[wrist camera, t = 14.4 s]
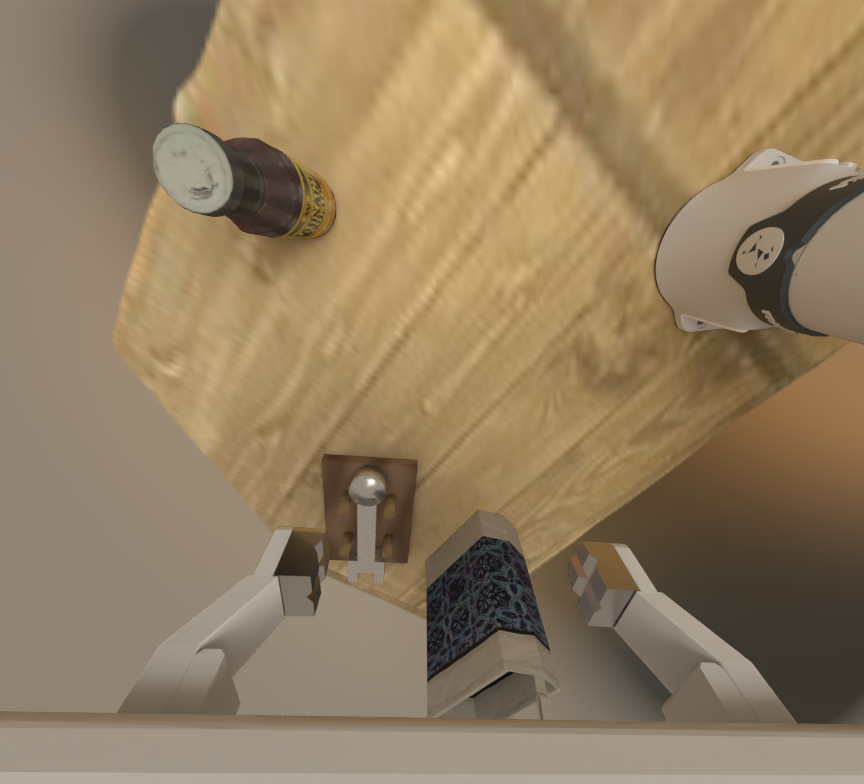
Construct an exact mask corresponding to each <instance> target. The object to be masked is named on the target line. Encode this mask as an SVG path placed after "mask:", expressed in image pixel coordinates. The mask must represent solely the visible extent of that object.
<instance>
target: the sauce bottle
mask: <svg viewBox="0 0 864 784" xmlns="http://www.w3.org/2000/svg"><path fill="white" fill-rule="evenodd" d="M153 167H154V171H155V174H156V176H157V178H158V181H159V182H160V184H161V186H162V187H163V188H164V190H165V191H166V192H167V194H168V195H169V196H170V197H171V198H172V199H173V200H174V201H175V202H176V203H177V204H179V205H180V206H182V207H183V208H184V209H187V210H189V211H191V212H193V213H199V214H202V215H207V216H212V217H219V216H224V215H225V216H227V217H228V218H229V219H231V220H232V222H233V223H234V224H236V225H237V226H238V228H239V229H240V230H241V231H243V232H246V233H250V234H257V235H263V236H267V237H272V238H315V237H319V236H321V235H323V234H324V233H326V232H327V231H328V230H329V228H330V227H331V226H332V225H333V223H334V220H335V218H336V204H335V199H334V194H333V192H332V191H331V189H330V188H329V186H328V184H327V183H326V182H325V180H324V179H323V178H322V177H320V176H319V175H318V174H316V173H315V172H313V171H312V170H310V169H309V168H307V167H306V166H304V165H303V164H301V163H300V162H298V161H297V160H295V159H293V158H292V157H290V156H288V155H287V154H285V153H283V152H282V151H280V150H278V149H276V148H273V147H271V146H270V145H268V144H266V143H264V142H263V141H261V140H259V139H256V138H233V139H230V140H227V141H223V140H221V139H220V138H219V137H217V136H216V135H214V134H213V133H211V132H209V131H207V130H204V129H202V128H200V127H198V126H194V125H191V124H186V123H178V124H173V125H171V126H169V127H165V128H164V129H163V130H162V131H161V132H160V133H159V135H158V136H157V138H156V140H155V142H154V145H153Z"/></svg>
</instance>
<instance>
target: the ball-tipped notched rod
mask: <svg viewBox="0 0 864 784" xmlns="http://www.w3.org/2000/svg"><path fill="white" fill-rule="evenodd" d="M386 485H387V476H386V473H385V472H384V471H383V470H382V469H381V468H379V467H376V466H373V465H365V466H362V467H359V468H358V469H357V470H356V471H355V472H354V474H353V477H352V481H351V484H350V488H349V496H350V498H351V499H352V500H353V501H354V502H355V503H357V545H351V548H350V553H349V557H348V582H358V578H359V573H370V574H374V583H383V582H384V574H385V562H386V559H384V558H383V557H382V548H383V546H377V532H378V504H379V503H380V502H382V501H383V499H384V497H385V492H386Z"/></svg>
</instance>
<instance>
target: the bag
mask: <svg viewBox="0 0 864 784" xmlns="http://www.w3.org/2000/svg"><path fill="white" fill-rule="evenodd" d="M426 568H427V711H428V713H427V714H428V715H427V718H474V719H511V718H513V717H515V716H517V715H518V714H520V713H522V712H524V711H526V710H527V709H529V708H531V707H533V706H534V705H536V704H537V708H538V715H539V720H552V717H551V710H550V704H549V697H550V696H552V695H554V694H555V693H558V692H559V691H561V688H560V685H559V681H558V678H557V674H556V671H555V667H554V663H553V660H552V656H551V653H550V649H549V645H548V642H547V638H546V635H545V631H544V627H543V624H542V620H541V617H540V613H539V609H538V606H537V602H536V599H535V595H534V591H533V588H532V584H531V581H530V577H529V573H528V570H527V566H526V563H525V559H524V555H523V552H522V548H521V545H520V541H519V538H518V534H517V530H516V529H515V528H514V527H513V526H512V525H511V524H510V523H509V521H508V520H507V519H506V518H505V517H504V516H503V515H499V514H495V513H490V512H486V511H482V510H478V511H477V512H476V513H475V514H474V515H473V516H472V517H471V518H470V519H469V520H468V521H466V522H465V523H464V524H463V525H462V526H461V527H460V528H459V529H458V530H457V531H456V532H455V533H454V534H453V535H452V536H451V537H450V538H449V539H448V540H447V541H446V542H445V543H444V544H443V545H442V546H441V547H440V548H439V549H438V550H437V551H435V552H434V553H433V554H432V555H431V556H430V557H429V558H428V559H427V560H426Z"/></svg>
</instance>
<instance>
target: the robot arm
mask: <svg viewBox="0 0 864 784" xmlns="http://www.w3.org/2000/svg"><path fill="white" fill-rule="evenodd" d="M771 164H772V165H771ZM857 166H858V164H857V163H854V162H840V163H839V160H837V159H823V160H814V161H805V162H803V161H801V160H799V159H797V158H795V157H792V156H790V155H788V154H786V153H784V152H781V151H779V150H777V149H774V148H768V149H761V150H758V151H756V152H755V153H753V154H752V155H751V156H750V157H749V158H748V159H747V160H745V161H744V162H743V163H742V164H741V165H740V166H739V167H738V168H737V169H736V170H735V171H734V172H733V173H732V174H731V175H729V176H728V177H726V178H724V179H722V180H720V181H718V182H716V183H715V184H713V185H711V186H709V187H707V188H706V189H704V190H703V191H701V192H700V193H699V194H697V195H696V196H695V197H694V198H693V199H691V200H690V201H689V202H688V203H687V204H686V205H685V206H684V207H683V208H682V210H681V211H680V212H679V213H678V214H677V216H676V217H675V218H674V220H673V221H672V223H671V224H670V226H669V228H668V229H667V231H666V233H665V235H664V237H663V240H662V242H661V245H660V248H659V251H658V255H657V260H656V280H657V284H658V288H659V290H660V292H661V294H662V296H663V297H664V299H665V300H666V301H667V302H668V303H669V305H670V306H671V307H672V308H673V310H674V315H675V321H676V324H677V327H678V328H679V329H680V330H683V331H687V332H693V331H703V330H713V329H724V328H725V329H729V330H732V331H736V332H742V333H745V332H747V331H748V330H758V329H765V328H771V327H779V329H782V330H785V331H789V332H792V333H797V334H799V333H802V334H806V335H810V336H833V337H837V338H841V339H844V340H848V341H852V342H855V343H859V344H863V345H864V169H858V170H856V168H857ZM698 321H699V322H698ZM328 538H329V532H328V530H327V529H316V528H303V527H288V526H278V527H277V528H276V530H275V531H274V533H273V535H272V537H271V539H270V541H269V543H268V545H267V547H266V549H265V551H264V553H263V555H262V557H261V560H260V561H259V563H258V565H257V567H256V569H255V571H254V573H253V575H247V576H246V577H245V578H243V579H242V580H241V581H239V582H238V583H237V584H236V585H234V586H233V587H232V588H231V589H229V590H228V591H227V592H226V593H224V594H223V595H222V596H221V597H219V598H218V599H217V600H216V601H214V602H213V603H212V604H211V605H209V606H208V607H207V608H206V609H204V610H203V611H202V612H201V613H199V614H198V615H197V616H196V617H194V618H193V619H192V620H191V621H189V622H188V623H187V624H186V625H184V626H183V627H182V628H181V629H179V630H178V631H177V632H175V633H174V634H173V635H172V636H170V637H169V638H168V639H167V640H166V641H164V642H163V643H162V644H160V645H159V647H158V648H157V650H156V652H155V654H154V655H153V656H152V658H151V660H150V661H149V663H148V664H147V666H146V668H145V669H144V671H143V672H142V674H141V675H140V677H139V678H138V680H137V682H136V683H135V685H134V686H133V688H132V690H131V691H130V693H129V694H128V696H127V697H126V699H125V701H124V702H123V704H122V705H121V707H120V708H119V710H118V712H117V713H82V712H81V713H80V712H12V711H9V712H8V711H0V784H864V725H850V724H842V725H841V724H797V723H796V721H795V720H794V719H793V717H792V716H791V715H790V713H789V712H788V711H787V710H786V708H785V707H784V705H783V704H782V703H781V701H780V700H779V699H778V697H777V696H776V695H775V693H774V692H773V691H772V689H771V688H770V687H769V685H768V684H767V683H766V681H765V680H764V679H763V677H762V676H761V675H760V673H759V672H758V671H757V669H756V668H755V667H754V665H753V664H752V663H751V662H750V661H749V660H747V659H746V658H745V657H744V656H742V655H741V654H740V653H739V652H737V651H736V650H735V649H733V648H732V647H731V646H730V645H728V644H727V643H726V642H724V641H723V640H722V639H721V638H719V637H718V636H717V635H716V634H714V633H713V632H712V631H711V630H709V629H708V628H707V627H705V626H704V625H703V624H701V623H700V622H699V621H698V620H696V619H695V618H694V617H693V616H691V615H690V614H689V613H688V612H686V611H685V610H684V609H682V608H681V607H680V606H679V605H677V604H676V603H675V602H673V601H672V600H671V599H670V598H668V597H667V596H666V595H665V594H663V593H660V592H657V591H656V589H655V587H654V586H653V584H652V583H651V581H650V580H649V578H648V577H647V575H646V573H645V572H644V571H643V569H642V567H641V566H640V564H639V563H638V561H637V559H636V558H635V556H634V555H633V553H632V552H631V550H630V549H629V547H628V546H626V545H625V544H612V543H597V542H595V543H594V542H579V543H578V544H576V547H575V549H574V550H575V552H576V555H575V556H573V557H572V558H570V561H569V563H568V577H569V582H570V584H571V587H572V589H573V590H574V591H575V592H576V593H577V594H578V595H579V596H580V598H579V603H578V604H579V607H580V609H581V611H582V614H583V616H584V619H585V621H586V623H587V625H588V626H600V627H615V628H614V630H615V631H616V632H617V633H618V634H619V635H620V636H621V637H622V639H623V640H624V641H625V642H626V643H627V644H628V645H629V646H630V648H631V649H632V650H633V651H634V652H635V653H636V654H637V655H638V656H639V658H640V659H641V660H642V661H643V662H644V663H645V664H646V665H647V666H648V668H649V669H650V670H651V671H652V672H653V673H654V674H655V675H656V677H657V678H658V679H659V680H660V681H661V682H662V683H663V684H664V685H665V686H666V688H667V689H668V690H669V691H670V692H671V693H672V694H673V695H672V696H671V697H670V698H669V699H668V700H667V701H666V702H665V704H664V705H663V708H662V711H663V713H664V716H665V718H666V720H667V722H663V721H660V722H659V721H599V720H598V721H597V720H537V719H535V720H533V719H532V720H531V719H474V718H410V717H344V716H343V717H342V716H277V715H236V714H237V711H238V708H239V705H240V700H239V697H238V694H237V691H236V688H235V685H234V682H233V679H232V677H233V676H234V675H235V674H236V673H237V672H238V671H239V669H240V668H241V667H242V666H243V665H244V664H245V663H246V661H247V660H248V659H249V658H250V657H251V656H252V655H253V653H254V652H255V651H256V650H257V649H258V648H259V647H260V645H261V644H262V643H263V642H264V641H265V640H266V639H267V637H268V636H269V635H270V634H271V633H272V632H273V630H275V628H276V627H277V626H278V625H279V624H280V623H281V621H282V620H283V619H284V618H285V617H284V616H315V612H316V609H317V605H318V602H319V598H320V595H321V587H320V583H321V582H322V581H323V580H324V579H325V577H326V573H327V569H328V564H329V555H330V547H329V546H328V545H327V542H328Z"/></svg>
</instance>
